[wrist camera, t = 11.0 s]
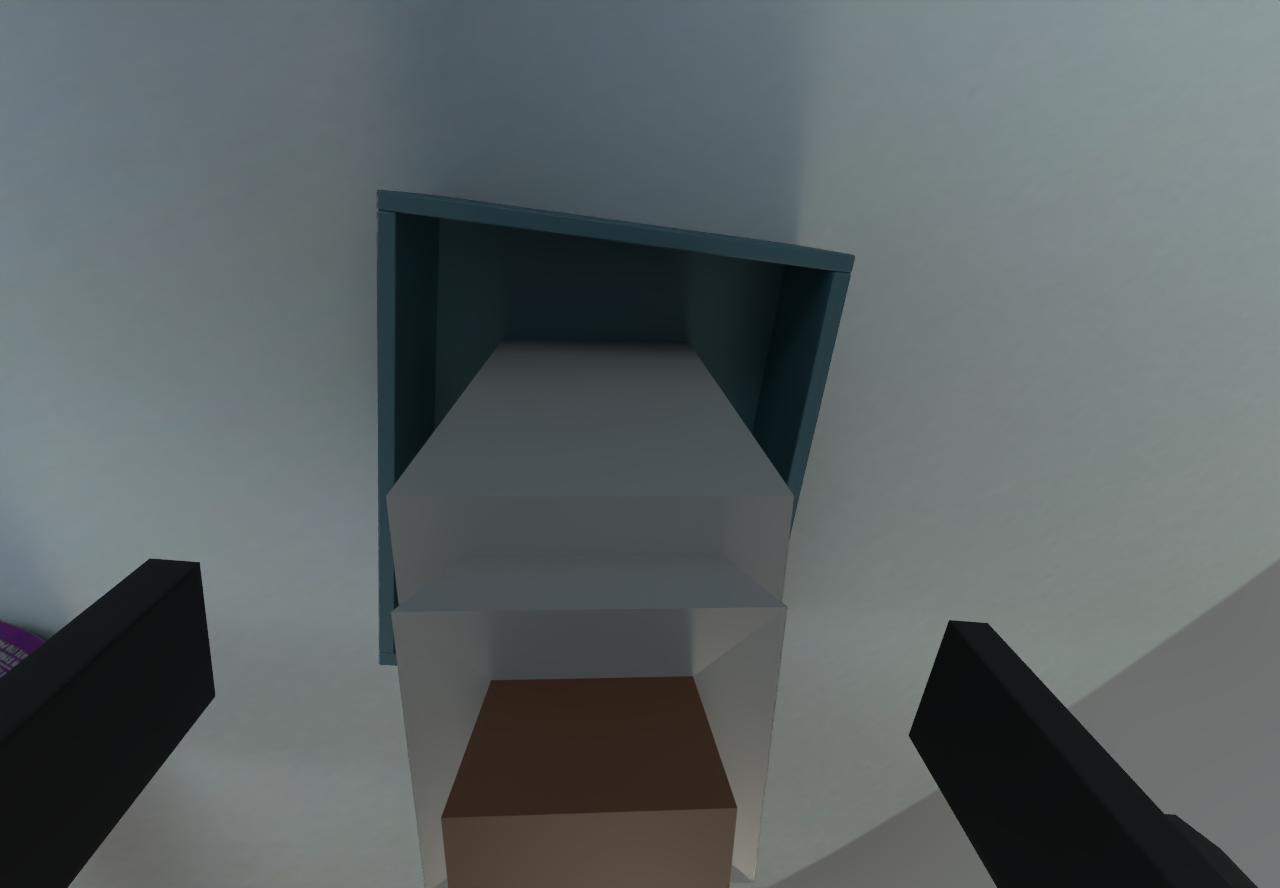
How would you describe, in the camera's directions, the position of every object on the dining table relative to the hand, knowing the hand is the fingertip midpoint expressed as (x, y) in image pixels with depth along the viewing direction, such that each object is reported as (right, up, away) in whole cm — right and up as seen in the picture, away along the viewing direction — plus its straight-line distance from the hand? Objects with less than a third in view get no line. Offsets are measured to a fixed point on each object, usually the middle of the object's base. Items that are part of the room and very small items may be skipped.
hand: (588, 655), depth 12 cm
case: (-1, +5, +14) cm, 14 cm away
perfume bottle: (-1, +4, +13) cm, 14 cm away
